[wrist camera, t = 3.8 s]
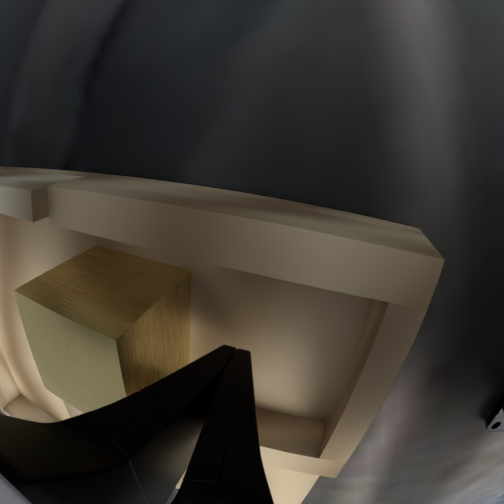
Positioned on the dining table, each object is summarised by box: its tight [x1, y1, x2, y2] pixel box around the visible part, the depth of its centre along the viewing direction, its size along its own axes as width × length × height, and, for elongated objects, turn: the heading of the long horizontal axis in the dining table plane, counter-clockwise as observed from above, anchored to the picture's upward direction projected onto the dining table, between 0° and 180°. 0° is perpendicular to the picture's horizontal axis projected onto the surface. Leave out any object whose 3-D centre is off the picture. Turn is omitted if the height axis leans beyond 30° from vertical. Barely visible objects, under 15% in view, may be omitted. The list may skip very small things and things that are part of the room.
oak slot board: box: [0, 166, 445, 504], centre depth 13 cm, size 24×20×3 cm
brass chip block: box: [14, 245, 192, 413], centre depth 9 cm, size 4×4×4 cm
